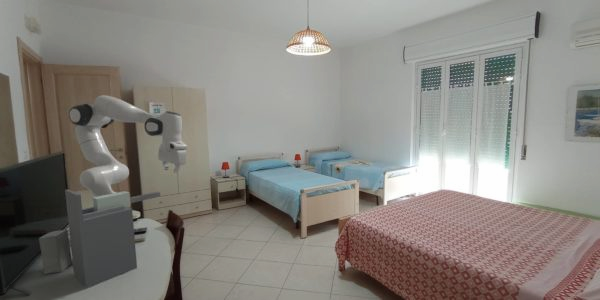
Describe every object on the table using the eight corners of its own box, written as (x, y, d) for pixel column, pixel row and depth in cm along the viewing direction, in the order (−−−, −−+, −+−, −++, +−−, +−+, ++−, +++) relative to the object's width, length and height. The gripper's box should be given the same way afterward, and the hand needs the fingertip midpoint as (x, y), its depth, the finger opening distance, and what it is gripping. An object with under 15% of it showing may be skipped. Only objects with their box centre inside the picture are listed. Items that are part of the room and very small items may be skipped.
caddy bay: (74, 276, 114) (64, 189, 110) (123, 258, 128) (116, 181, 124) (86, 288, 106) (76, 195, 102) (137, 268, 120) (130, 185, 116)
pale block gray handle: (94, 211, 114) (92, 197, 114) (156, 197, 135) (156, 185, 134) (98, 213, 112) (96, 199, 111) (161, 198, 132) (160, 186, 131)
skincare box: (61, 272, 117) (57, 236, 116) (41, 274, 116) (37, 238, 114) (73, 262, 126) (69, 228, 124) (55, 264, 124) (51, 230, 123)
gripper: (155, 142, 145) (154, 168, 146) (177, 146, 133) (175, 175, 134) (167, 142, 150) (166, 167, 151) (189, 146, 138) (188, 174, 139)
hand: (170, 171), depth 142 cm, fingers open, 8 cm apart
